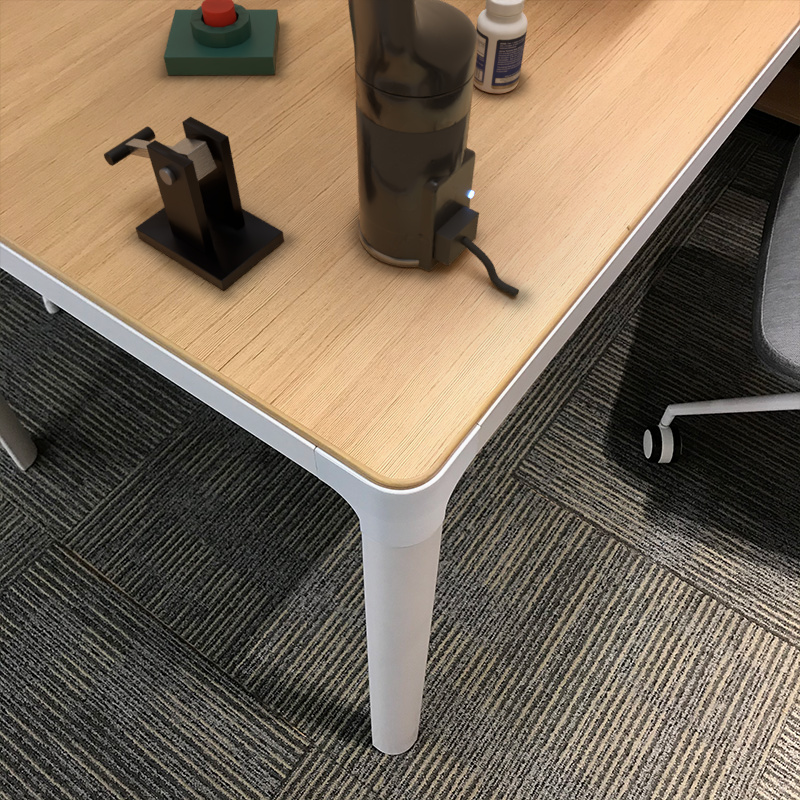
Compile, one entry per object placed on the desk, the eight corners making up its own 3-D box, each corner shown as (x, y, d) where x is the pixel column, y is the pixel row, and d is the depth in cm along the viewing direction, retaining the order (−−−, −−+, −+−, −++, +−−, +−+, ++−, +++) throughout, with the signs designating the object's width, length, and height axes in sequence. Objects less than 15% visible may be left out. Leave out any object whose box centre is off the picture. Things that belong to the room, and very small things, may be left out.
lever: (111, 171, 69) (98, 146, 67) (152, 143, 71) (141, 119, 70) (186, 190, 63) (174, 163, 61) (229, 159, 65) (218, 133, 64)
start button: (237, 11, 87) (235, -4, 86) (235, 28, 85) (232, 13, 84) (205, 11, 87) (203, -4, 86) (202, 28, 85) (199, 13, 84)
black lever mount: (138, 237, 71) (103, 138, 63) (200, 192, 75) (176, 93, 66) (223, 291, 68) (200, 194, 59) (284, 241, 72) (270, 143, 63)
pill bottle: (524, 74, 88) (539, -12, 80) (509, 100, 85) (523, 13, 77) (480, 63, 89) (490, -23, 81) (464, 87, 86) (472, 1, 78)
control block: (279, 27, 92) (275, -7, 89) (275, 75, 87) (270, 41, 83) (179, 27, 92) (171, -7, 89) (168, 75, 86) (159, 41, 83)
